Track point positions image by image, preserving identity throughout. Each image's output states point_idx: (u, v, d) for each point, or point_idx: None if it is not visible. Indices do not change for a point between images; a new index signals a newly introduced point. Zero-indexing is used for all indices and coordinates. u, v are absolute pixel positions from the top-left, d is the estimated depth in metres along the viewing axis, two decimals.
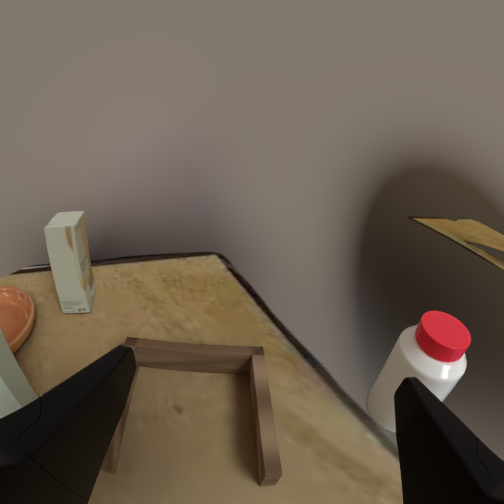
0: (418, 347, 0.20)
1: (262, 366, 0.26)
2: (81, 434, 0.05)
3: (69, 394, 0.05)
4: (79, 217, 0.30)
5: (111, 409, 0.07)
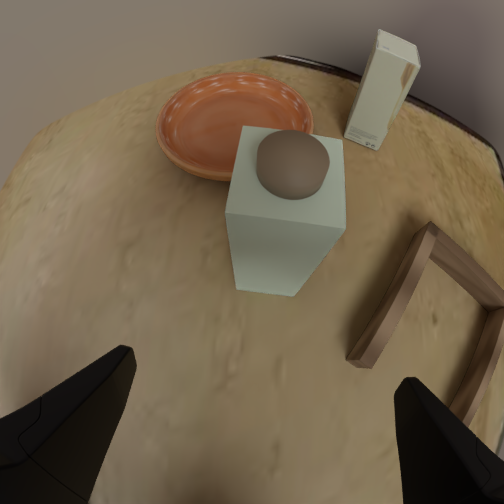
0: None
1: None
2: (81, 434, 0.05)
3: (69, 394, 0.05)
4: (417, 54, 0.18)
5: (111, 409, 0.07)
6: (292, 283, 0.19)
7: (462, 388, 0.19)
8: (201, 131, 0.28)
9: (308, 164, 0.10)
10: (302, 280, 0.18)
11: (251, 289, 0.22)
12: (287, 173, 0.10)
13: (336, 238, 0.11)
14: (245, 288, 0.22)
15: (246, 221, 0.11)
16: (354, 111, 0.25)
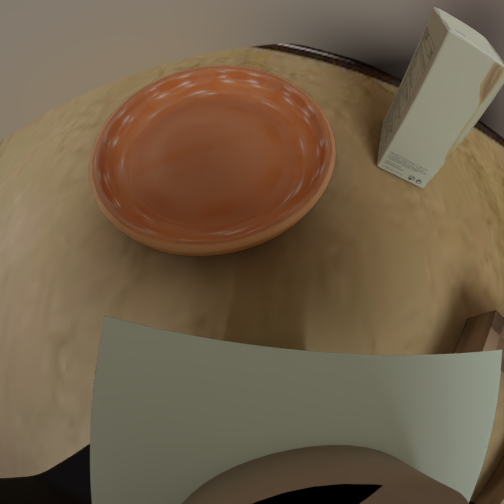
0: None
1: None
2: None
3: None
4: (494, 51, 0.08)
5: None
6: None
7: (486, 492, 0.09)
8: (159, 160, 0.18)
9: None
10: None
11: None
12: None
13: None
14: None
15: None
16: (399, 130, 0.15)
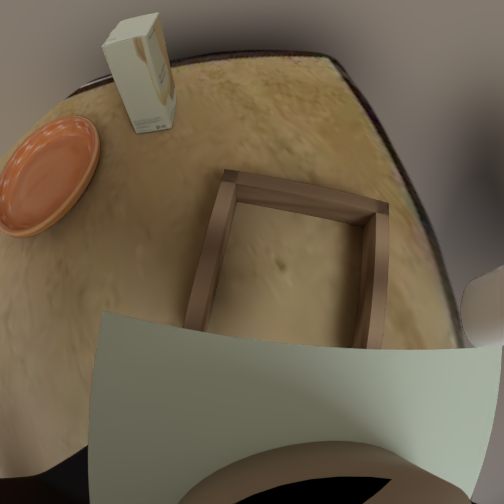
0: None
1: (385, 231, 0.21)
2: None
3: None
4: (152, 21, 0.18)
5: None
6: None
7: (357, 326, 0.21)
8: (25, 196, 0.25)
9: None
10: None
11: None
12: None
13: None
14: None
15: None
16: (126, 108, 0.24)
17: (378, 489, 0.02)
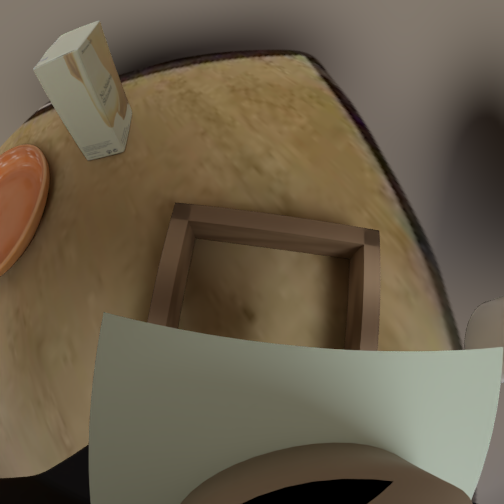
0: None
1: (376, 268, 0.17)
2: None
3: None
4: (89, 32, 0.14)
5: None
6: None
7: None
8: None
9: None
10: None
11: None
12: None
13: None
14: None
15: None
16: (71, 134, 0.20)
17: (379, 490, 0.02)
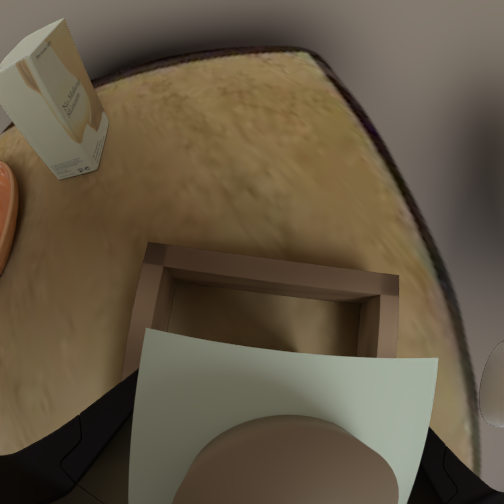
0: None
1: (393, 323, 0.14)
2: (124, 451, 0.05)
3: (109, 410, 0.05)
4: (49, 32, 0.10)
5: None
6: None
7: None
8: None
9: None
10: None
11: None
12: None
13: None
14: None
15: None
16: (36, 152, 0.16)
17: None
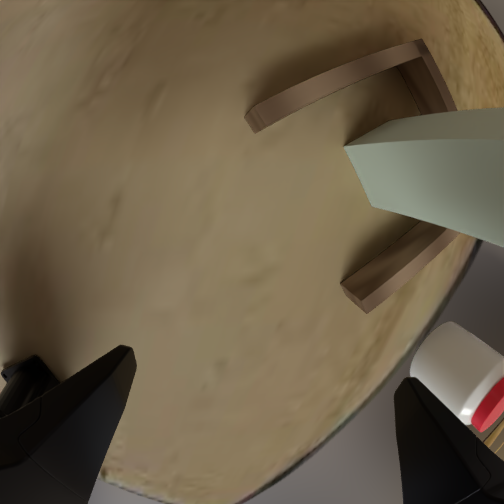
0: (491, 387, 0.15)
1: None
2: (81, 434, 0.05)
3: (69, 394, 0.05)
4: None
5: (111, 409, 0.07)
6: (404, 205, 0.14)
7: (384, 255, 0.19)
8: None
9: None
10: (418, 215, 0.14)
11: (356, 162, 0.17)
12: None
13: None
14: (354, 156, 0.17)
15: None
16: None
17: None
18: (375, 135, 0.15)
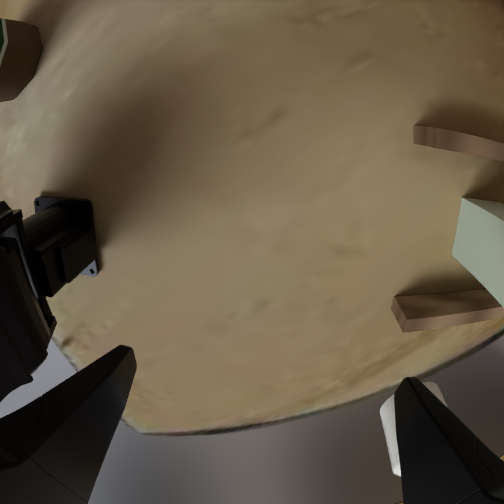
0: None
1: None
2: (81, 434, 0.05)
3: (69, 394, 0.05)
4: None
5: (111, 409, 0.07)
6: (480, 270, 0.14)
7: (436, 297, 0.19)
8: None
9: None
10: (486, 284, 0.14)
11: (464, 215, 0.16)
12: None
13: None
14: (465, 209, 0.16)
15: None
16: None
17: None
18: (489, 206, 0.14)
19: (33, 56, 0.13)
